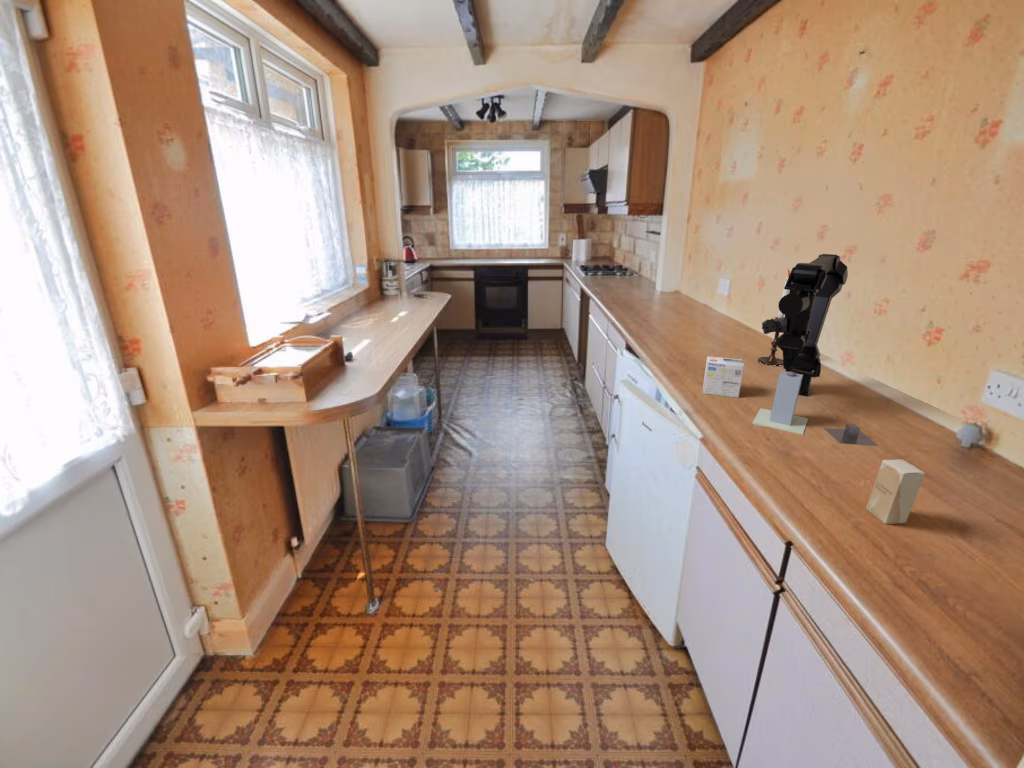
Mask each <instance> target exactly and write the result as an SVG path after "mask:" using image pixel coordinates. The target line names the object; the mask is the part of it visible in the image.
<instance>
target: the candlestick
mask: <svg viewBox="0 0 1024 768" xmlns="http://www.w3.org/2000/svg"><path fill="white" fill-rule="evenodd" d="M790 273H791V271H790V269H789V268H788V269H787V279H786V281H784V286H783V290H782V296H781V298H782V297H783V296H785V295H787V294H789V292H790V290H786V289H784V287H785V285H786V282H787V280H788V278H789V275H790ZM783 317H785V315H784V314H782V313H781V312H780V310H779V309H778V313H777V317H774V319H777V318H783ZM762 327H763V326H762V325H761V328H762ZM781 331H782V330H781ZM781 331H776V332H774V338H773V341H771V342H770V345H771V346H772V347H771V348H770V349H769V350H770V352H771V353H770V355H769V356H760V357H758V359H757V362H758V361H759V362H758V363H760V362H761V363H760V364H762V363H763V364H762V365H765V364H767V365H766V366H769V365H776V366H775V367H780V366H779V365H783V358H782V359H781V358H779V357H778V358H777V357H776V352H777V351H778V349H777V348H778V346H777V340H778V337H779V336H780V334H781Z"/></svg>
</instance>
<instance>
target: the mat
mask: <svg viewBox="0 0 1024 768" xmlns="http://www.w3.org/2000/svg"><path fill="white" fill-rule="evenodd" d="M771 411H772V409H771V410H770V409H766V408H762V407H760V409H759V410H758V412H757V413H756V416H755V417H754V419H753V421H752V422H751V424H752V425H754V426H758V427H763V428H765V427H767V428H772V429H777V430H781V431H784V432H785V431H786V432H789V433H792V434H793V433H794V434H798V435H802V436H804V432H805V429H806V426H807V425H808V420H809V418H807V417H804V416H798V415H794V416H793V420H792V422H791V425H790V426H789V425H784V424H780V423H776V422H771V421H769V420H770V416H771Z"/></svg>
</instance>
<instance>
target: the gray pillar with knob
mask: <svg viewBox="0 0 1024 768" xmlns="http://www.w3.org/2000/svg"><path fill="white" fill-rule="evenodd" d="M802 377H803V375H801V374H796V373H795V372H792V371H788V372H786V371H783V370H781V372H780V373H779V375H778V379H777V383H776V384H777V385H776V389H775V393H774V398H773V402H772V406H771V416H770V420H769V421H771V422H776V423H780V424H784V425H789V426H790V425H791V422H792V420H793V416H795V415H794V414H795V411H796V408H797V402H798V398H799V395H800V394H799V390H800V386H801V382H802Z"/></svg>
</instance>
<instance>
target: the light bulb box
mask: <svg viewBox="0 0 1024 768" xmlns="http://www.w3.org/2000/svg"><path fill="white" fill-rule="evenodd" d="M744 368H745V363H744V361H743V359H739V358H729V357H720V356H719V357H717V356H716V357H715V356H708V355H707V357H706V363H705V370H704V376H703V383H702V384H703V385H702V394H703V395H704V394H706V395H712V396H721V397H730V398H740V393H741V385H742V380H743V375H744Z"/></svg>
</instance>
